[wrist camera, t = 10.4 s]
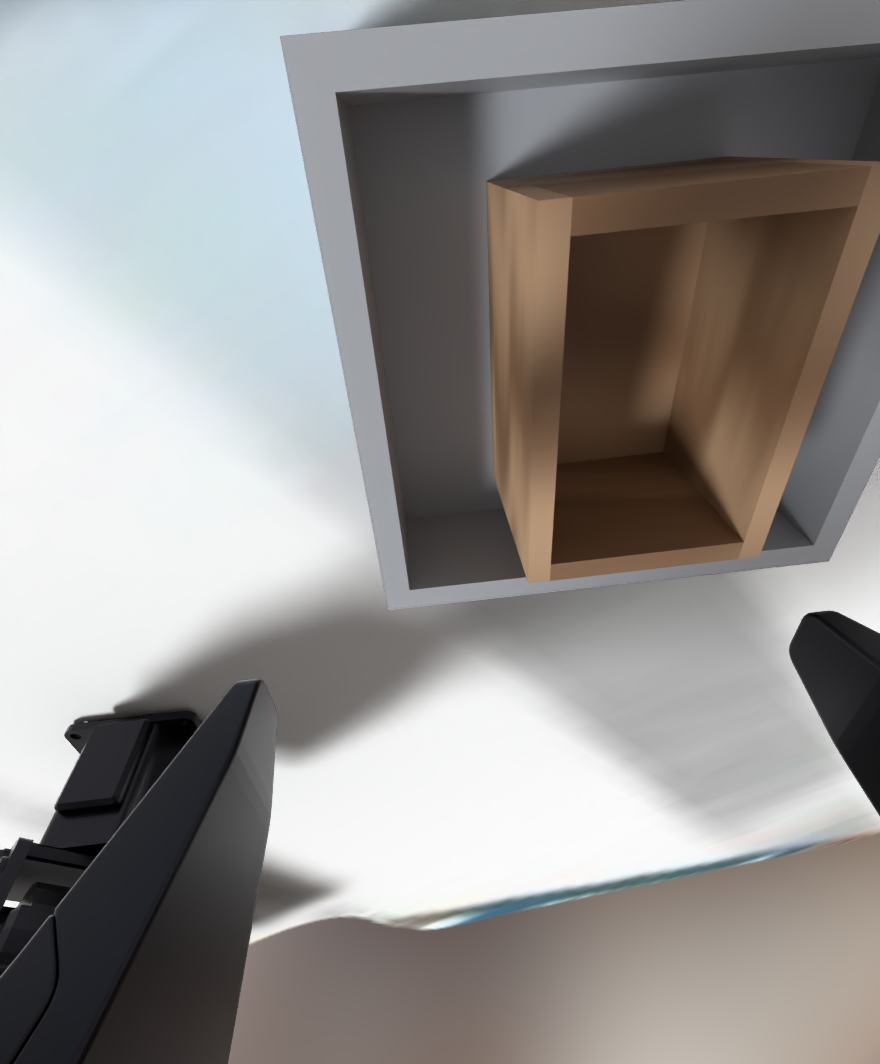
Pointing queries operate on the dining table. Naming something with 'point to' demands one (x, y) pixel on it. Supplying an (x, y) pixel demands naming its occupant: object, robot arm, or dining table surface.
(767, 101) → the grey crate
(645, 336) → the walnut crate
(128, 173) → the dining table surface
